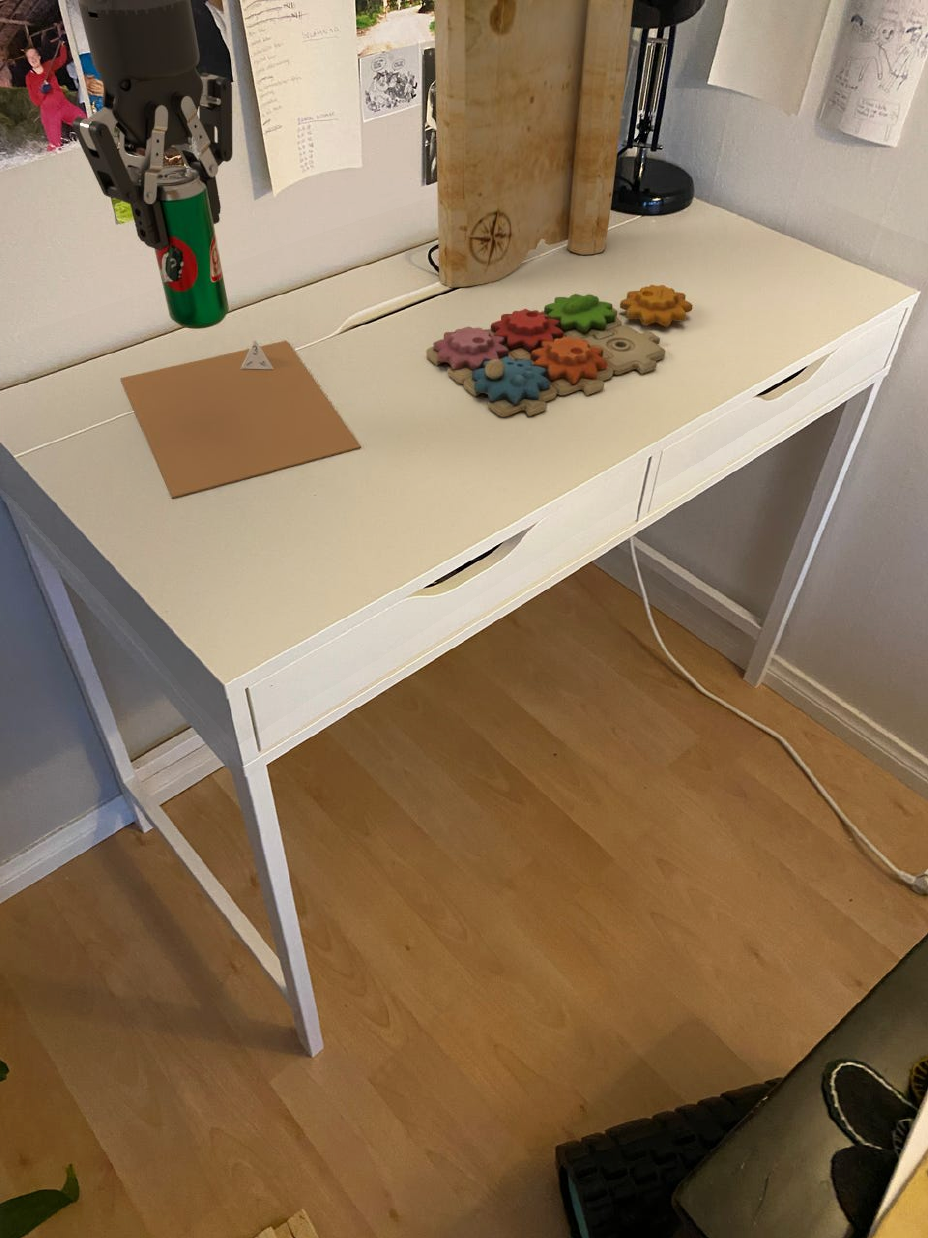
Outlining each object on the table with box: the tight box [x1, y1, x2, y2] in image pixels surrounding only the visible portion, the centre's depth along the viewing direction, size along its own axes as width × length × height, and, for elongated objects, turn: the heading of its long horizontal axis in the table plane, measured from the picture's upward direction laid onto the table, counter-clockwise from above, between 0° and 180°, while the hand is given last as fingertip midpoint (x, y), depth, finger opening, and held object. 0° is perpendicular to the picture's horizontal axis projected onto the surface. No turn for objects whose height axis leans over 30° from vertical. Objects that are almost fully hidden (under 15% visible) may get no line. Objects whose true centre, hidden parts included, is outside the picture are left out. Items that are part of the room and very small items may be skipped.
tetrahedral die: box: [241, 339, 273, 370], centre depth 100 cm, size 4×3×3 cm
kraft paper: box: [120, 340, 362, 500], centre depth 95 cm, size 18×22×1 cm
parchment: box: [433, 0, 634, 289], centre depth 108 cm, size 23×6×30 cm, turn 117°
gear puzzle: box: [425, 284, 694, 417], centre depth 102 cm, size 31×16×4 cm, turn 123°
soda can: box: [154, 164, 230, 330], centre depth 79 cm, size 5×5×12 cm
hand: (182, 233), depth 78 cm, fingers closed on soda can, 5 cm apart
